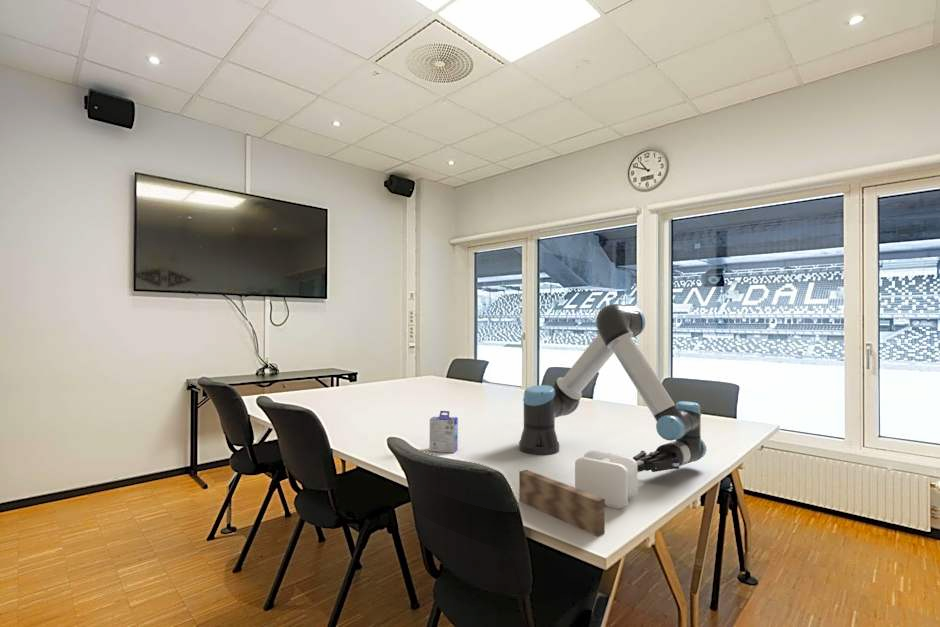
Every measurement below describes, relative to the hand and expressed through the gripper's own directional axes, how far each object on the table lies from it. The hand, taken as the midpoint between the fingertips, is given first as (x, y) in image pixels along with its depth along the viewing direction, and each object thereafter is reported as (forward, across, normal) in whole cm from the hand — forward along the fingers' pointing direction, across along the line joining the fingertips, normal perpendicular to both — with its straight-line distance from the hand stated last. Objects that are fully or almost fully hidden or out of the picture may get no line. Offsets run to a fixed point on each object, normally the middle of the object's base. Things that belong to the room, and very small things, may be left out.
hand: (628, 469), depth 136 cm
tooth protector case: (+10, +1, -7) cm, 12 cm away
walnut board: (+29, +1, -6) cm, 29 cm away
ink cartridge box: (+18, +67, -7) cm, 70 cm away
